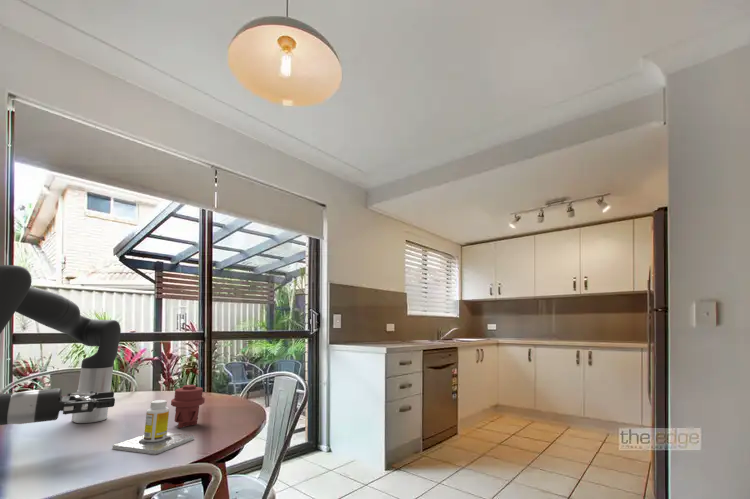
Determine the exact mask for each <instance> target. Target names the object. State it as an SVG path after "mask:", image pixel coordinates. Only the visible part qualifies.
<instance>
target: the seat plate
mask: <svg viewBox="0 0 750 499" xmlns="http://www.w3.org/2000/svg"><path fill="white" fill-rule="evenodd" d="M193 440H195V435H193V434H183V433H174V432H167V436H166V438H165V439H164V440H162V441H159V442H145V441H144V434H143V435H140V436H139V435H138V436H136V437H133V438H130V439H127V440H124V441H122V442H118V443H115V444H113V445H112V450H116V451H122V452H123V451H125V452H131V453H132V452H133V453H140V454H146V455H155V456H156V455H158V454H161V453H163V452H165V451H168V450H171V449H174V448H176V447H179V446H181V445H183V444H186V443H188V442H191V441H193Z"/></svg>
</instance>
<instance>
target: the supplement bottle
mask: <svg viewBox="0 0 750 499" xmlns="http://www.w3.org/2000/svg"><path fill="white" fill-rule="evenodd" d="M167 403H168V401H167V400H166V399H156V400H152V401H151V402H150V406H149V407H150V408H148V409H147V410H146V414H145V415H146V416H145V422H144V423H145V424H144V432H143V433H144V434H143V435H144V441H145V442H159V441H162V440H164V439H165V438H166V436H167V433H168V426H169V424H168V423H169V417H170V416H169V415H170V408H169V407H168V406H167V405H168V404H167Z"/></svg>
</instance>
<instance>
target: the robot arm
mask: <svg viewBox="0 0 750 499" xmlns="http://www.w3.org/2000/svg"><path fill="white" fill-rule="evenodd" d="M32 281H33V280H32V274H31V273H30V271H29V270H28V268H26V267H24V266H20V265H15V264H0V335H1V333H2V332H3V331H4V329H5V328H6V326H7V325H8V323H9V322H10V320H11V319H12V317H13V316H14V315H15V313H17V314H19V315H22V316H23V317H26V318H28V319H31V320H33V321H35V322H37V323H38V324H40V325H42V326H45V327H46V328H47V327H48V328H50V329H53V330H55V331H57V332H60V333H62V334H66V335H68V336H69V337H71V338H72V339H74V340H76V341H77V342H78V343H80V344H83V346H86V347H98V348H97V350H96V352H95V353H94V354H93V355H90V356H88V357H84V358H83V359H82V361H81V365H80V374H79V379H78V388H77V390H76V391H75V392H69V393H67V395H65V396H62V393H63V392H62V389H61V388H60V387H59V388H58V387H57V388H47V389H33V390H31V389H30V390H23V391H19V392H13V393H12V392H9V393H0V426H5V425H22V424H23V425H24V424H25V425H26V424H32V423H34V424H35V423H41V422H42V423H43V422H51V421H56V420H58V418H59V416H60V412H62V415H69V414H71V421H72V422H74V423H77V424H90V423H97V422H101V421H104V420H107V418H108V412H109V408H113V407H114V406H115V405H116V404H115V403H116V402H115V401H116V399H115V397H114V396H115V392H114V391H111V390H112V389H111V388H112V381H113V372H114V366H115V360H116V358H117V356H118V350H119V345H120V341H121V340H120V339H121V332H122V330H121V325H120V323H119V322H118V321H117V320H115V319H95V318H94V319H93V318H92V319H91V318H88V317H87V316H84V315H81V310H80V308H79V306H78V305H77V304H76V303H75V302H74V301H72V300H70V299H69V298H66V297H65V296H63V295H61V294H58V293H56V292H53V291H49V290H44V289H40V288H37V287H32Z"/></svg>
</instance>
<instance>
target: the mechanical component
mask: <svg viewBox="0 0 750 499" xmlns="http://www.w3.org/2000/svg"><path fill="white" fill-rule="evenodd" d="M203 391H204V389H203V387H200V386H197V385H196V384H185V385H183V386H182V387H180V388H179V387H178V388H176V389H175V390H174V398H172V399H171V401H170V405H171V406H172V407H175V410H174V411H175V413H174V414H175V415H174V422H175V423H177V424H178V425H177V428H179V429H181V428H185V427H189V426H197V425H198V420H199V412H200V411H199V410H200V406H202V405H204V403H205V401H206V400H205V399H206V398H205V397H204V396H203V393H204V392H203Z"/></svg>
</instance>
